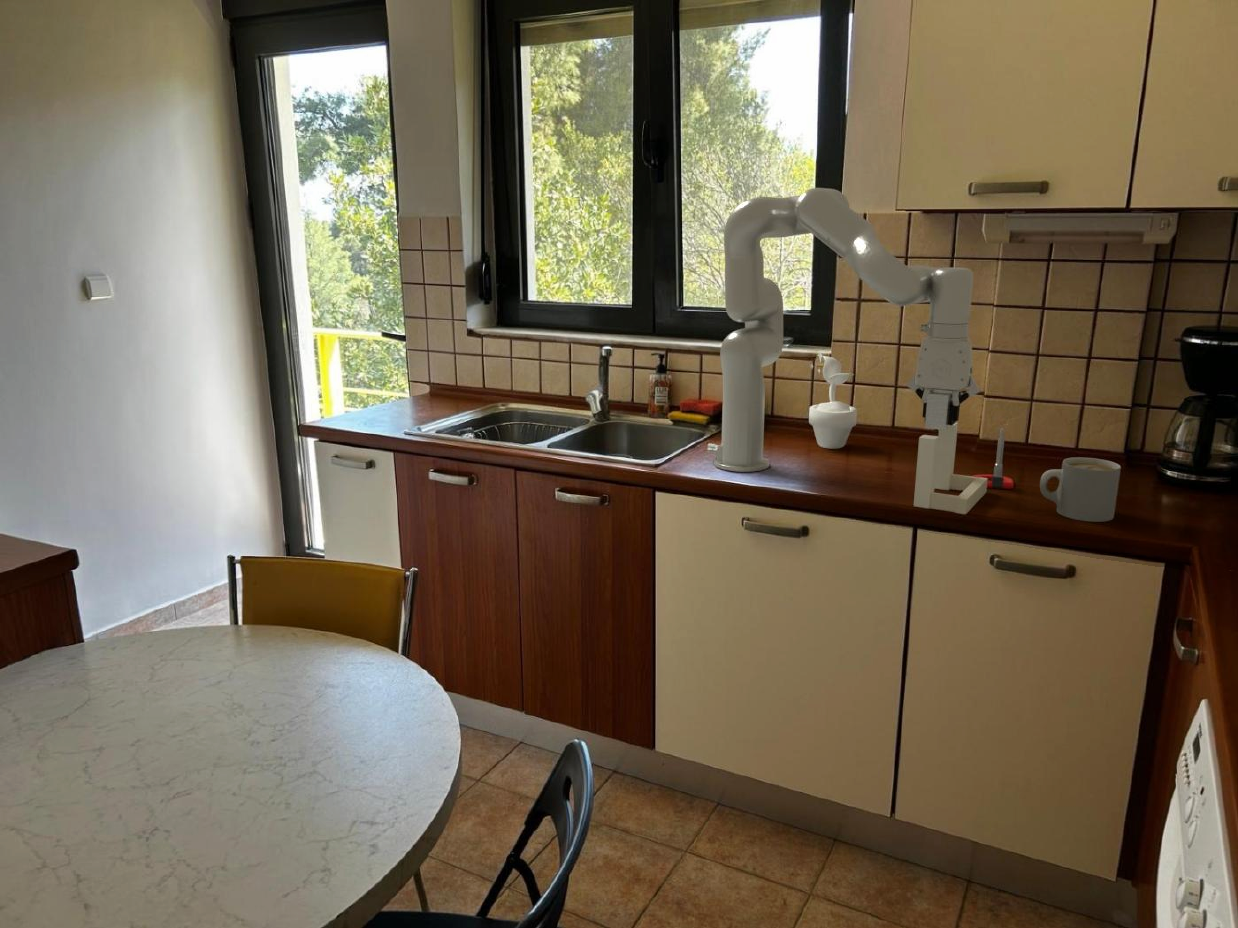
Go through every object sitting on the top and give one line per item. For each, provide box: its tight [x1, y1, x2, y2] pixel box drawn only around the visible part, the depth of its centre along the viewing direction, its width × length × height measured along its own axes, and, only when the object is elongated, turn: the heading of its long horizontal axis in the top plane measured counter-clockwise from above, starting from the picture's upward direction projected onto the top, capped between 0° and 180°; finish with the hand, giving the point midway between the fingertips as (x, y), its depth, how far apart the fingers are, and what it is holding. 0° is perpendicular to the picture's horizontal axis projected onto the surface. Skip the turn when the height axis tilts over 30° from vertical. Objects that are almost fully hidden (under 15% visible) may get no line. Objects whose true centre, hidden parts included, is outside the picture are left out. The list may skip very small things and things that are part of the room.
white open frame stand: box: [913, 422, 989, 515], centre depth 185 cm, size 10×18×14 cm, turn 147°
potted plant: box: [808, 348, 858, 450], centre depth 227 cm, size 13×12×25 cm
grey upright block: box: [924, 390, 953, 431], centre depth 184 cm, size 4×7×7 cm, turn 147°
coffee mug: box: [1039, 456, 1122, 523], centre depth 177 cm, size 13×10×10 cm
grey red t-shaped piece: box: [971, 428, 1015, 490], centre depth 197 cm, size 8×13×9 cm
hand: (940, 421), depth 185 cm, fingers closed on grey upright block, 4 cm apart
